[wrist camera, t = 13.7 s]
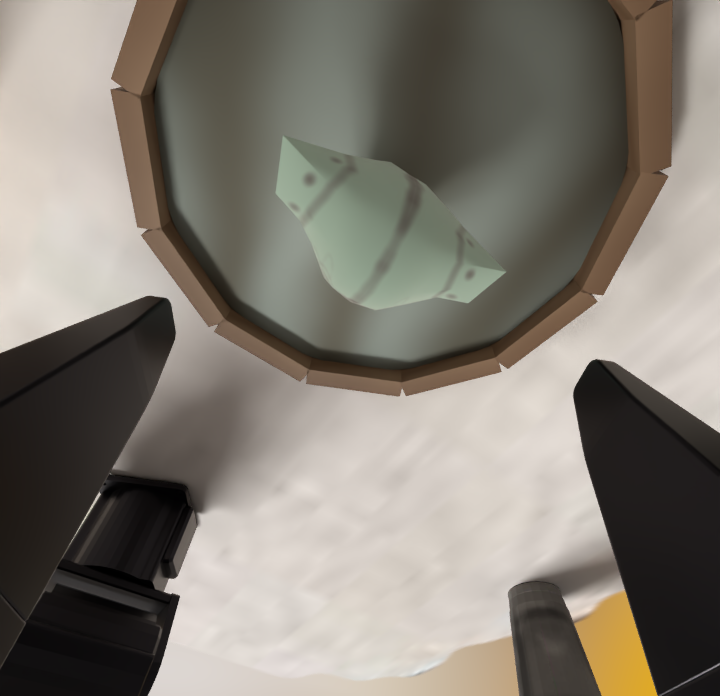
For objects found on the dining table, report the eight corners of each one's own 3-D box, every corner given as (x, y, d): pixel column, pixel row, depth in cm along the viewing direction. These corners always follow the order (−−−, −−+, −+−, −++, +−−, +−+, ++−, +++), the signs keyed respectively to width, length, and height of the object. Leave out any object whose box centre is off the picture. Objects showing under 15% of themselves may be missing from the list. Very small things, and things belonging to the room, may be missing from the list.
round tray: (175, 346, 24) (164, 364, 22) (77, -238, 12) (41, -268, 10) (530, 396, 24) (537, 415, 23) (790, -111, 12) (834, -127, 11)
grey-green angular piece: (494, 205, 17) (538, 287, 12) (434, 281, 20) (448, 379, 14) (317, 89, 15) (276, 125, 10) (273, 189, 18) (220, 263, 12)
